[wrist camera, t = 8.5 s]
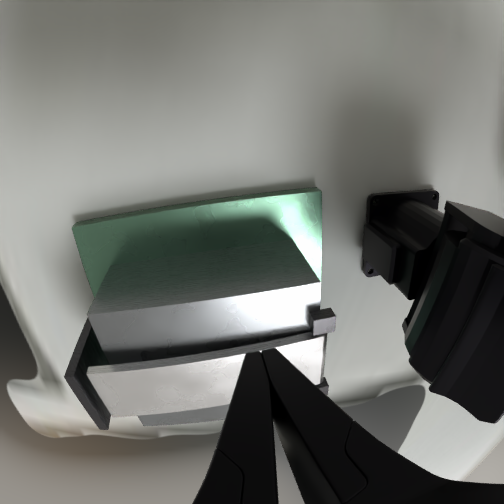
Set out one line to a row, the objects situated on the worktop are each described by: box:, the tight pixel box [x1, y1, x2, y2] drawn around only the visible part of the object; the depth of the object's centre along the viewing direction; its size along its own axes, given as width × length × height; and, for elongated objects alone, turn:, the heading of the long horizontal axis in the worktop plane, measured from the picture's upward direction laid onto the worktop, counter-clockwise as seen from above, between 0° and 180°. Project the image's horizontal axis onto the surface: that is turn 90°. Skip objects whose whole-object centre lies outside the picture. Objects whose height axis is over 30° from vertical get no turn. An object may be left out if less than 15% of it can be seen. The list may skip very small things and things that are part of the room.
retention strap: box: [87, 332, 327, 417], centre depth 17 cm, size 13×4×1 cm, turn 95°
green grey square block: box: [64, 187, 336, 430], centre depth 19 cm, size 16×16×8 cm
